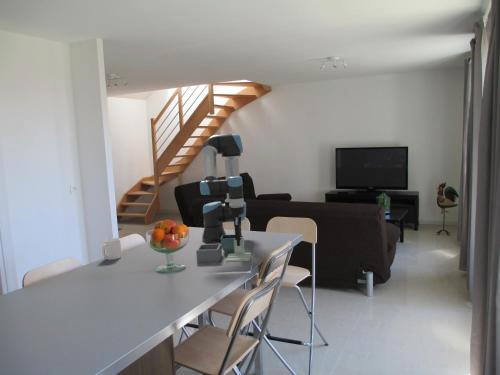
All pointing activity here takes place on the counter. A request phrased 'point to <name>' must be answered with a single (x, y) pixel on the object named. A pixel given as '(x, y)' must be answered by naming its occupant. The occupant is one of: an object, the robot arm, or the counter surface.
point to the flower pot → (228, 243)
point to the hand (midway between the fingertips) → (239, 250)
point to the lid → (239, 254)
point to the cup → (112, 249)
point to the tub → (209, 253)
